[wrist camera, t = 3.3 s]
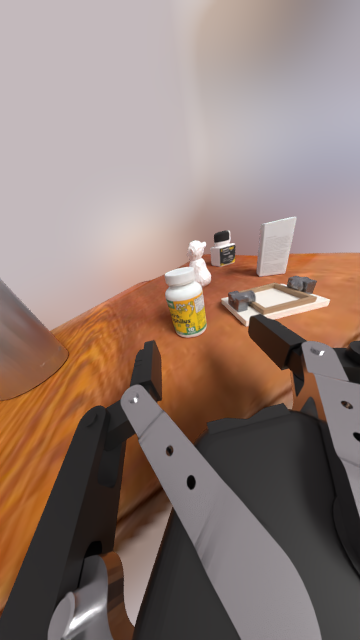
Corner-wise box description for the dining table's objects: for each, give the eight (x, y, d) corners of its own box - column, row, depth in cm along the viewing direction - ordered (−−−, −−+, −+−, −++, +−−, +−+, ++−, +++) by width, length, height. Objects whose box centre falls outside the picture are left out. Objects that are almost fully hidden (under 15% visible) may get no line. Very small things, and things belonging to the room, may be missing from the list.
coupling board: (245, 326, 20) (246, 316, 19) (221, 303, 27) (221, 295, 26) (327, 305, 20) (332, 294, 19) (280, 288, 27) (282, 279, 27)
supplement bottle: (212, 323, 22) (207, 264, 17) (196, 343, 19) (184, 277, 14) (186, 317, 25) (175, 266, 20) (169, 333, 22) (151, 277, 17)
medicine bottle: (220, 267, 53) (219, 232, 47) (211, 265, 59) (209, 234, 52) (235, 262, 54) (236, 228, 48) (224, 261, 60) (224, 230, 54)
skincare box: (279, 269, 37) (290, 217, 30) (285, 274, 33) (298, 216, 27) (255, 272, 39) (260, 224, 32) (258, 277, 35) (264, 223, 29)
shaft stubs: (238, 312, 21) (238, 299, 20) (228, 303, 24) (228, 291, 23) (312, 293, 22) (317, 279, 20) (293, 287, 25) (296, 274, 23)
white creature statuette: (196, 279, 46) (191, 240, 39) (218, 280, 40) (216, 234, 34) (178, 289, 40) (169, 246, 34) (201, 292, 35) (195, 241, 28)
